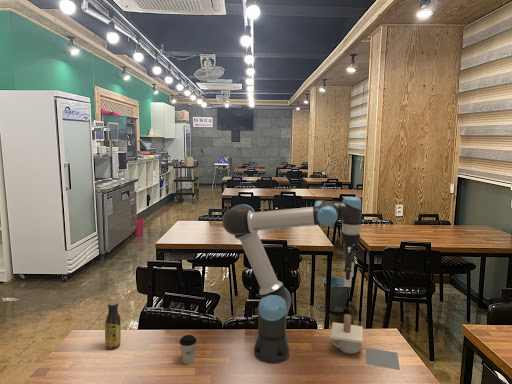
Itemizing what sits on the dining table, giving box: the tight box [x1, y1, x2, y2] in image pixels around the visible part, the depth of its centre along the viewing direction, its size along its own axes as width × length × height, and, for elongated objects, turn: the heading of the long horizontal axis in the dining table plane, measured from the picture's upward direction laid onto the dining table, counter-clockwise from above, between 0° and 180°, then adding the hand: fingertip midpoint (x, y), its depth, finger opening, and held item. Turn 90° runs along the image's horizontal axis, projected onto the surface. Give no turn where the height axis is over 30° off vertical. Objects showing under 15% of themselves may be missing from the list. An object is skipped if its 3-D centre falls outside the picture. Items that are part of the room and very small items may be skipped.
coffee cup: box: [179, 334, 198, 365], centre depth 149 cm, size 7×7×10 cm
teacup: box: [330, 338, 363, 355], centre depth 159 cm, size 14×11×8 cm
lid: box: [329, 313, 364, 344], centre depth 158 cm, size 13×13×8 cm
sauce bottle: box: [104, 300, 122, 350], centre depth 159 cm, size 7×6×20 cm
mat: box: [365, 347, 401, 371], centre depth 153 cm, size 13×13×1 cm
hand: (348, 281), depth 159 cm, fingers open, 13 cm apart
